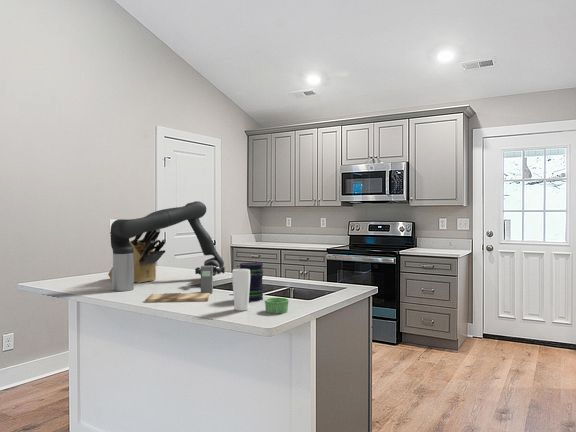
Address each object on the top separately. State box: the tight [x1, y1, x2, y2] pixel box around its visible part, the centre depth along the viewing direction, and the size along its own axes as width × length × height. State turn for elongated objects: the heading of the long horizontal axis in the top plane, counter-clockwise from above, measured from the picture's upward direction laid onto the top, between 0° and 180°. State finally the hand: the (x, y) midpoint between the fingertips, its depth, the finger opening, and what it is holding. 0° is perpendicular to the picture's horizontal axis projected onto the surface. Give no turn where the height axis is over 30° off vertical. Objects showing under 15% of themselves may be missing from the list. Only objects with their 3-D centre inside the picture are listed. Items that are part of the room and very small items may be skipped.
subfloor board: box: [145, 292, 211, 303], centre depth 193 cm, size 25×12×1 cm, turn 95°
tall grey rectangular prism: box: [200, 265, 214, 295], centre depth 208 cm, size 5×5×12 cm
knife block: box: [107, 229, 167, 284], centre depth 243 cm, size 11×35×31 cm, turn 57°
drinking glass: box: [231, 268, 250, 312], centre depth 171 cm, size 7×7×15 cm
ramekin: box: [264, 297, 290, 314], centre depth 169 cm, size 9×9×4 cm
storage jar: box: [239, 262, 264, 302], centre depth 192 cm, size 10×10×15 cm
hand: (209, 272), depth 219 cm, fingers open, 8 cm apart
